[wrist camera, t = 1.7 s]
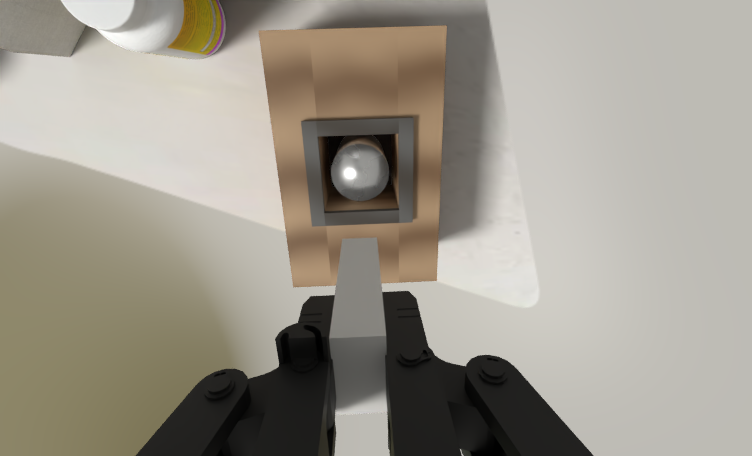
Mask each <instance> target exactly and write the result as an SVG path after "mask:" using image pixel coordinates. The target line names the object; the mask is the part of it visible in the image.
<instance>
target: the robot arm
mask: <svg viewBox="0 0 752 456" xmlns="http://www.w3.org/2000/svg"><path fill="white" fill-rule="evenodd" d="M275 341H276V346H277V352H278V359H279V367H278V368H277V369H275V370H273V371H271V372H269V373H266V374H264V375H260V376H257V377H253V378H250V379H248V378H247V376H246V375H245V374H244V372H243V371H240V370H237V369H224V370H220V371H217V372H214V373H212V374H210V375H208V376H206V377H205V378H204V379H202V380H201V381H200V382H199V383H198V384H197V385H196V386H195V387H194V388H193V389H192V391H191V392H190V393H189V394H188V395H187V396H186V398H185V399H184V400H183V401H182V402H181V403H180V405H179V406H178V407H177V408H176V409H175V410H174V412H173V413H172V414H171V415H170V416H169V417H168V419H167V420H166V421H165V422H164V423H163V424H162V426H161V427H160V428H159V429H158V430H157V431H156V433H155V434H154V435H153V436H152V437H151V438H150V440H149V441H148V442H147V443H146V444H145V445H144V447H143V448H142V449H141V450H140V451H139V452H138V454H137V455H136V456H334V453H335V438H336V427H335V410H336V414H337V415H346V414H365V413H385V412H387V413H388V447H389V450H390V456H462V455H461V452H460V449H461V450H462V454H463V455H464V456H593V455H592V453H591V452H590V451H589V450H588V449H587V448H586V447H585V446H584V444H583V443H582V442H581V441H580V440H579V439H578V438H577V437H576V435H575V434H574V433H573V432H572V431H571V430H570V429H569V428H568V426H567V425H566V424H565V423H564V422H563V421H562V420H561V419H560V418H559V416H558V415H557V414H556V413H555V412H554V411H553V409H552V408H551V407H550V406H549V405H548V404H547V403H546V401H545V400H544V399H543V398H542V397H541V396H540V395H539V394H538V392H537V391H536V390H535V389H534V388H533V387H532V386H531V385H530V383H529V382H528V381H527V380H526V379H525V378H524V377H523V376H522V374H521V373H520V372H519V371H518V370H517V369H516V368H515V367H514V366H513V365H512V364H511V363H509V362H508V361H506V360H504V359H502V358H500V357H497V356H491V355H482V356H481V355H480V356H477V357H475V358H472V359H471V360H470V361H469V362H468V363H467V365H466V366H460V365H456V364H451V363H448V362H445V361H443V360H441V359H439V358H438V357H436V356H435V355H434V353H433V351H432V350H431V349H430V348H429V347H428V344H427V340H426V336H425V332H424V328H423V324H422V320H421V317H420V312H419V309H418V304H417V300H416V298H415V297H414V296H413V295H412V294H411V293H410V292H409V291H397V292H382V287H381V275H380V265H379V254H378V244H377V237H376V238H352V239H342V245H341V253H340V260H339V268H338V275H337V283H336V290H335V295H330V296H311V297H310V298H309V299H308V300H307V301H306V302H305V303H304V304H303V306H302V310H301V313H300V317H299V321H298V323H296V324H293V325H291V326H288V327H286V328H285V329H284V330H282V331H281V332H280V333H279V334H278V336H277V337H276V339H275Z"/></svg>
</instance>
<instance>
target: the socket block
mask: <svg viewBox="0 0 752 456" xmlns="http://www.w3.org/2000/svg"><path fill="white" fill-rule="evenodd" d="M446 34H447V25H445V26H409V27H374V28H339V29H303V30H268V31H259V37H260V44H261V52H262V59H263V66H264V74H265V81H266V89H267V96H268V103H269V111H270V118H271V125H272V133H273V140H274V148H275V155H276V162H277V170H278V177H279V184H280V192H281V199H282V207H283V214H284V221H285V229H286V236H287V243H288V251H289V258H290V265H291V273H292V280H293V287H311V286H332V285H336V283H337V275H338V268H339V260H340V253H341V245H342V239H352V238H376V237H377V244H378V254H379V265H380V275H381V283H398V282H421V281H437V259H438V234H439V209H440V184H441V159H442V134H443V109H444V84H445V59H446ZM375 134H391V174H392V185H386V187H385V188H384V190H383V191H382V192H381V193H380V194H379V195H377V196H376V197H374V198H372V199H370V200H366V201H355V200H351V199H348V198H346V197H345V196H343V195H342V194H341V193H340V192H339V191H338V190H337V189H336V187H332V183H331V170H330V157H329V145H328V136H347V135H375Z"/></svg>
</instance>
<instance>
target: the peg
mask: <svg viewBox="0 0 752 456" xmlns="http://www.w3.org/2000/svg"><path fill="white" fill-rule="evenodd" d="M331 177H332V181H333V184H334V186H335V187H336V189H337V190H338V191H339V192H340V193H341V194H342V195H343V196H345V197H346V198H348V199H351V200H355V201H366V200H370V199H372V198H374V197H376V196H377V195H379V194H380V193H381V192H382V191H383V190H384V188H385V187H386V184H387V182H388V178H389V167H388V163H387V160H386V157H385V154H384V151H383V148H382V145H381V143H380V142H379V140H378V139H377V138H376V137H374V136H373V135H347V136H346V137H345V138H344V139H343V140H342V141H341V143H340V144H339V147H338V149H337V152H336V155H335V158H334V160H333V163H332V167H331Z"/></svg>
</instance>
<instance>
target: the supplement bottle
mask: <svg viewBox="0 0 752 456" xmlns="http://www.w3.org/2000/svg"><path fill="white" fill-rule="evenodd" d="M61 1H62V3H63V4H64V6H65V7H66V8H67V10H68V11H69V12H70V13H71V14H72V15H73V16H74V17H75V18H77V19H78V20H79V21H81V22H82V23H84V24H86V25H88V26H90V27H92V28H95V29H97V30H98V31H99V33H101V34H102V35H103V36H104V37H105V38H107V39H108V40H109V41H111V42H112V43H114V44H116V45H118V46H120V47H122V48H124V49H127V50H130V51H134V52H141V53H148V54H156V55H163V56H170V57H178V58H185V59H203V58H206V57H208V56H210V55H212V54H213V53H215V52H216V51H217V50H218V48H219V47H220V46H221V44H222V42H223V40H224V36H225V31H226V21H225V15H224V12H223V9H222V6H221V4H220V2H219V0H61Z"/></svg>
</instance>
